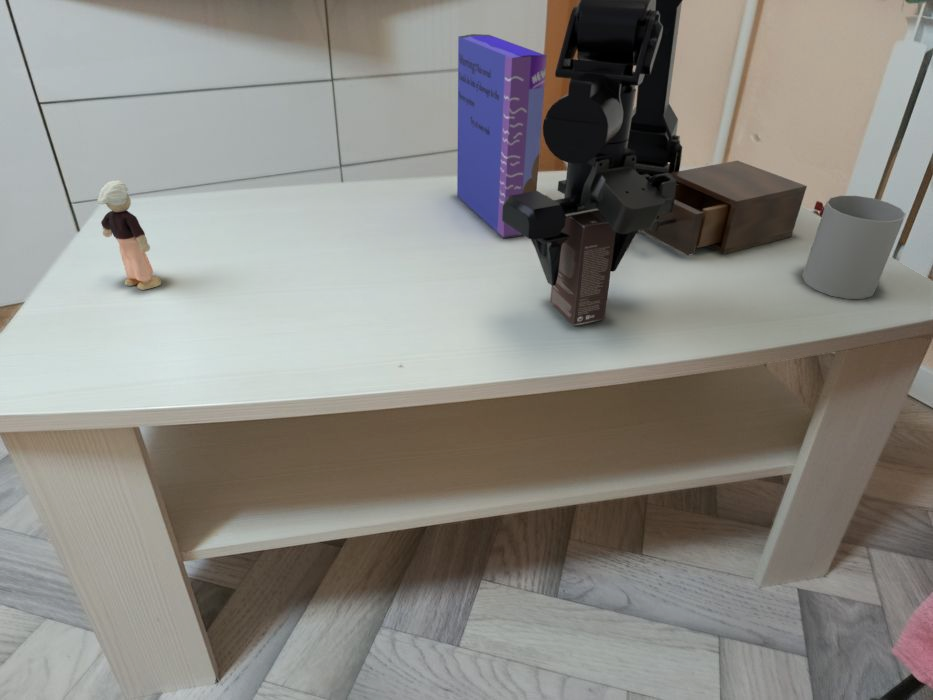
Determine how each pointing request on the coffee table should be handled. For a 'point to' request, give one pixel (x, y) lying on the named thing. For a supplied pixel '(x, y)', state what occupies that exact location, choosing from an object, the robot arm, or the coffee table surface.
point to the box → (584, 269)
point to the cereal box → (497, 124)
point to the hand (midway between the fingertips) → (581, 277)
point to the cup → (852, 246)
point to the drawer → (691, 221)
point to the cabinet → (748, 202)
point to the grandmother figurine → (127, 235)
